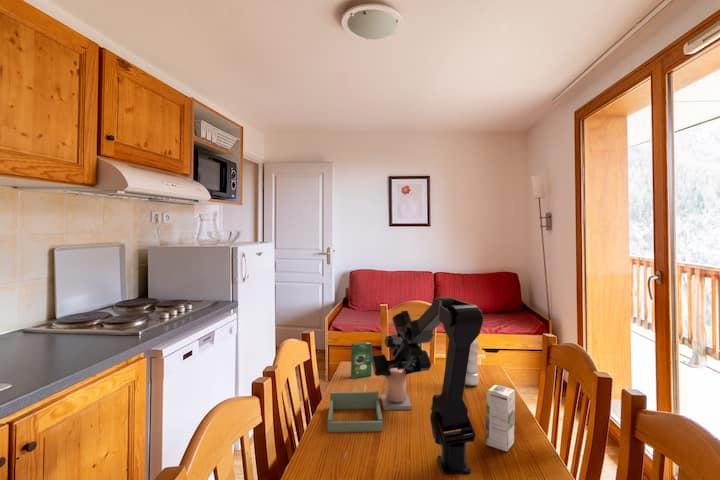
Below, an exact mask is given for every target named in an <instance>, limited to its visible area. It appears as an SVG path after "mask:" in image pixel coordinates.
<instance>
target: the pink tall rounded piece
mask: <svg viewBox="0 0 720 480" xmlns="http://www.w3.org/2000/svg"><path fill="white" fill-rule="evenodd" d="M390 373H391V375H390V376H388V377H385V382H386V383H385V395H386V399H387V400H389V401H392V402H402V401H404V400H406V394H407V375H406V370H405V369H401V370H398V369H397V368H392V369H391V370H390Z"/></svg>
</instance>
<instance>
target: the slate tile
mask: <svg viewBox="0 0 720 480" xmlns="http://www.w3.org/2000/svg"><path fill="white" fill-rule="evenodd" d="M380 399H381V400H380V401H381V404H382V408H383V411H398V410H399V411H401V410H402V411H404V410H406V411H409V410H413V406H412V403H411V400H410V397H409V395H408V393H406V400H404V401H402V402H392V401H389V400H387V399H386V394H381V395H380Z"/></svg>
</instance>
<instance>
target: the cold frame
mask: <svg viewBox="0 0 720 480" xmlns="http://www.w3.org/2000/svg"><path fill="white" fill-rule="evenodd" d="M379 395H380V393H379V391H330V392H329V407H328V413H327V414H328V416H327V432H328V433H342V432H343V433H347V432H348V433H351V432H352V433H357V432H362V433H363V432H383V429H384V428H383V427H384V424H383V423H384V422H383V415H382V408H381V404H380V396H379ZM341 409H342V410H344V409H345V410H347V409H348V410H349V409H350V410H351V409H353V410H354V409H355V410H356V409H357V410H358V409H362V410H363V409H375V412H376V419H377V420H348V421H347V420H345V421H344V420H343V421H342V420H340V421H337V420H335V421H334V420H333V417H334V410H341Z"/></svg>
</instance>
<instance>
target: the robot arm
mask: <svg viewBox="0 0 720 480" xmlns="http://www.w3.org/2000/svg"><path fill="white" fill-rule="evenodd" d="M391 319H392V322H393V326H394V328H395V332H396V333H395V334H391V335H387V336H385V338H384V344H385V347H386V348H391V349H392V350H391V352H390V353H391V356H393V358H392V360H391V359H389V360H388V359H387V356H386V354H384V353H379V354H377V353H376V354H372V358H371V362H372V366H371V367H372V369H373V374H374V376H376V377H377V376H378V377H379V376H383V377H384V378H386V377H388V376H390V375H391V373H390V370H391V369H392V368H397V369H398V370H401V369H405V370H406V376H407V375H411V374H416V373H421V372H424V371H429V370H430V369H431V367H432V362H431V360H430V356H429V354H428V353H429V352H427V351H426V350H425V349H422V347H423V345H422V344H427V343H430V342H431V340H432V339H433V337H434V336H435V335H434V330H435V329H436V328H437V327H438V326H440V325H441V323H442V324H443V329H444V332H445V333H446V336H447V338H448V346H447V351H446V352H447V353H446V358H445V359H446V360H445V368H444V374H443V375H444V376H443V383H442V389H441V393H440V394H433V397H432V400H431V401H432V403H431V407H430V411H431V413H430V416H429V419H430V425H431V430H432V431H431V432H432V437H433V439H434V443H435V444H437V445H440V447H441V452H440V455H437V456H436V458H437V461H438V464H439V466H440V469H441V472H442V473H443V474H470V473H472V471H471V468H470V465H469V464H468V462H467V443H470V442H472V443H473V442H475V440H476V433H475V430H474V428H473V424H472V422H471V419H470V417H469V409H468V407H467V405H466V404H465V401H464V393H465V386H466V385H465V380H466V373H467V367H468V360H469V353H470V346H471V344H472V342H473V341H474V340H475V339H477V338H478V337H479V335H480V333H481V332H482V331H481V329H482V327H483V323H484V314H483V311H482V310H481V309H480V308H479V306H478V305H476V304H474V303H473V304H471V303H470V302H465V301H462V300H458V299H457V298H454V297H452V296H438V297H436V298H433V300H432V302H431V304H430V306H429V307H428V308H426V309H425V311H424V312H423V313H422V314H421V315H420V317H419V318H418V319H415V320H413V321H412V318H411V315H410V313H409V311H408V310H401V312H400V313H397V314H395V315H394V316H392V318H391Z"/></svg>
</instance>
